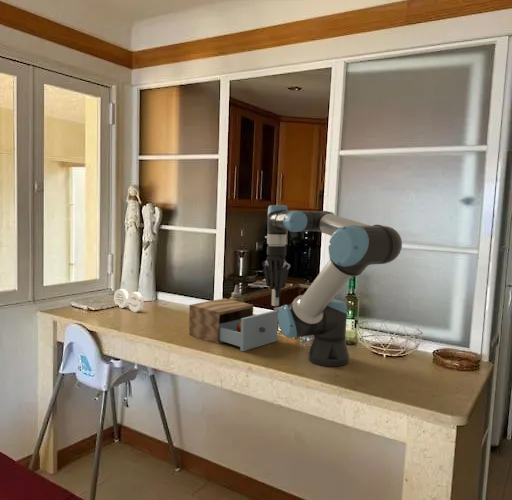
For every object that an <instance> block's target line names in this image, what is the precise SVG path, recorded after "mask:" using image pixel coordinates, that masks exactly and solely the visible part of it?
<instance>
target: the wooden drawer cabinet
mask: <svg viewBox="0 0 512 500" xmlns="http://www.w3.org/2000/svg"><path fill="white" fill-rule="evenodd" d="M188 312H189V315H188V316H189V318H188V322H189V323H188V325H189V327H188V329H189V330H188V335H189V336H192V337H195V338H197V339H202V340H204V341H207V342H211V343H213V344H217V345H219V344H223V343H224V342H223V341H220V340H219V324H221V323H225V322H229V321H233V320H237V319H241V318H245V317H249V316H254V304H251V303H246V302H244V301H243V302H238V301H234V300H230V298H225V297H223V298H219V299H213V300H209V301H204V302H196V303H191V304H189V311H188Z"/></svg>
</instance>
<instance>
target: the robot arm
mask: <svg viewBox="0 0 512 500" xmlns="http://www.w3.org/2000/svg"><path fill="white" fill-rule="evenodd" d="M266 216H267V230H266V233H267V236H266V244H267V246H266V255H267V257H266V260H265V261H262V262H261V265H262V267H263V270H264V271H263V272H264V277H265V278H264V279H265V284H266V287H269V288H270V297H271V306H273V307H280V309H279V312H278V322H279V326H280V329H281V331H280V332H281V334H282V335H283V337H286V338H287V339H297V338H303V337H311V336H313V339H312V340H313V341H311V342H312V343H311V344H310V345H311V346H310V348H309V351H308V353H307V354H308V357H307V358H308V361H309V362H311V363H313V364H314V365H319V366H323V367H331V368H332V367H342V366H346V365H348V364H349V363H350V354H349V349H348V347H347V343H346V342H347V341H346V332H347V330H346V329H347V316H348V312H347V310H348V308H347V304H346V302H344V301H343V300H341V299H340V300H339V299H335V297H336V296H337V295H338V294H339V293H340V291H341V290H342V289H343V288H344V286H345V285H347V283H348V282H349V281H350V279H352V277H353V278H354V277H357V276H360V275H361V274H362V273H363V272H364V271H365V270H366V269H367V267H368V266H371V265H384V264H388V263H392V262H393V261H394V260H395V259H396V258H398V257H399V255H400V253H401V251H402V248H403V242H402V237H401V235H400V233H399V232H398V231H397V230H396V229H394V228H393V227H391V226H387V225H381V224H373V225H371V224H370V225H369V224H365V223H363V222H360V221H356V220H352V219H349V218H346V217H342V216H338V215H335V213H334V212H332V211H327V210H318V211H317V210H313V211H312V210H288V206H287V205H285V204H284V205H283V204H280V205H279V204H277V205H276V204H273V205H271V204H270V205H268V208H267V215H266ZM288 232H291V233H295V232H296V233H299V232H320V233H322V234H326V235H328V236H331V237H330V239H329V245H328V247H327V248H328V255H329V256H328V258H329V260H328V262H327V263H326V264H325V266H323V268H322V270H321V271H320V272H319V273H318V274H317V276H316V277H315V279H314V280H313V282H311V284H310V285H309V286H308V288H307V289H306V291H305V292H304V293H303V294H300V295H298V296H296V297H295V298H294V299H293V301H292V302H291V303H290V304H284V305H281V306H280V298H281V290H282V289H285V287H286V285H287V280H288V275H289V271H290V269H291V268H292V264H291V263H288V262H287V259H286V256H287V246H286V245H287V234H288Z"/></svg>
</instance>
